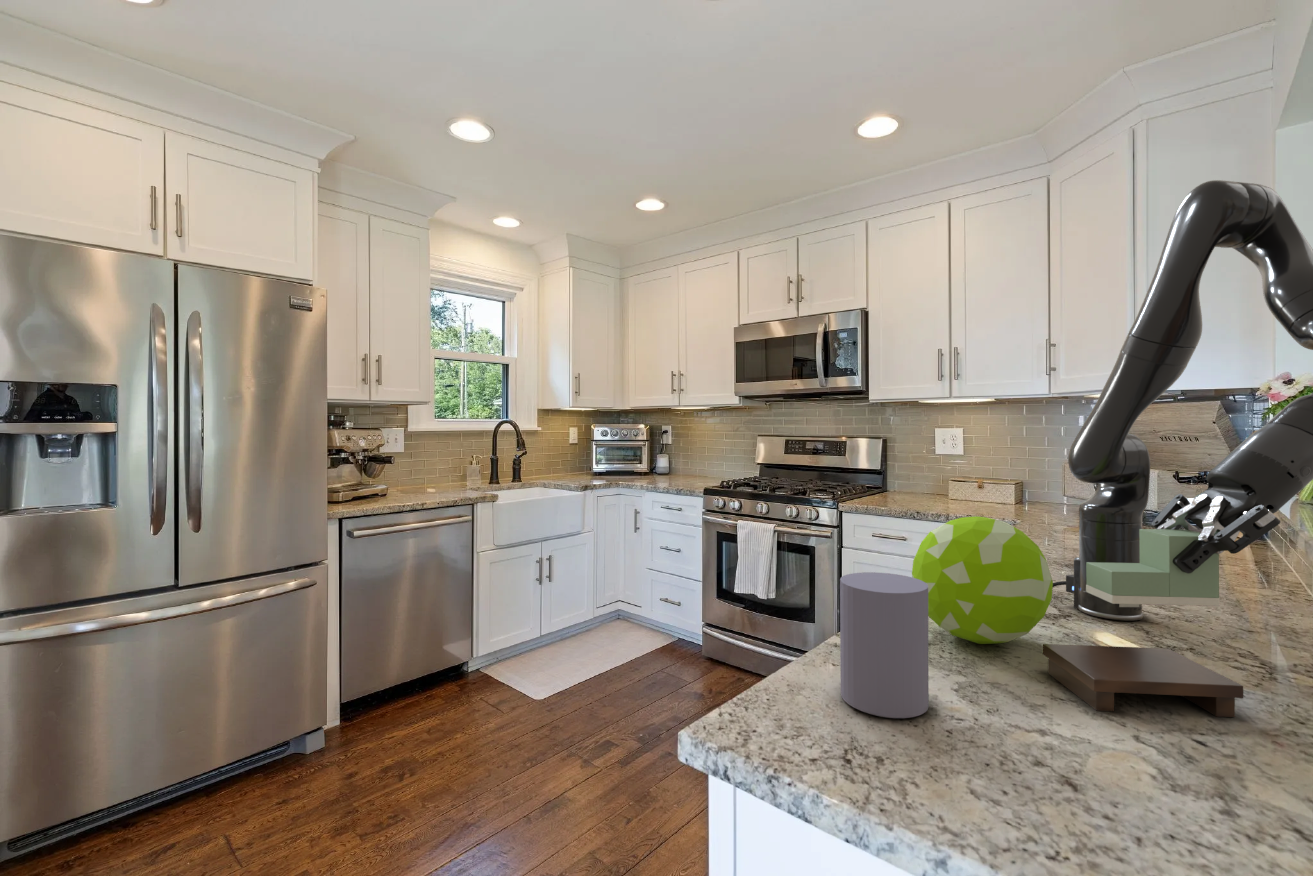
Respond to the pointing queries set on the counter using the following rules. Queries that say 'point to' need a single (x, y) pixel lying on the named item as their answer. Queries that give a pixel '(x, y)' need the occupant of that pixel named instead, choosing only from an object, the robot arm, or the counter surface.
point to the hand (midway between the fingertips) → (1162, 562)
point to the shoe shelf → (1139, 676)
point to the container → (884, 644)
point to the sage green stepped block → (1157, 574)
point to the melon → (983, 579)
